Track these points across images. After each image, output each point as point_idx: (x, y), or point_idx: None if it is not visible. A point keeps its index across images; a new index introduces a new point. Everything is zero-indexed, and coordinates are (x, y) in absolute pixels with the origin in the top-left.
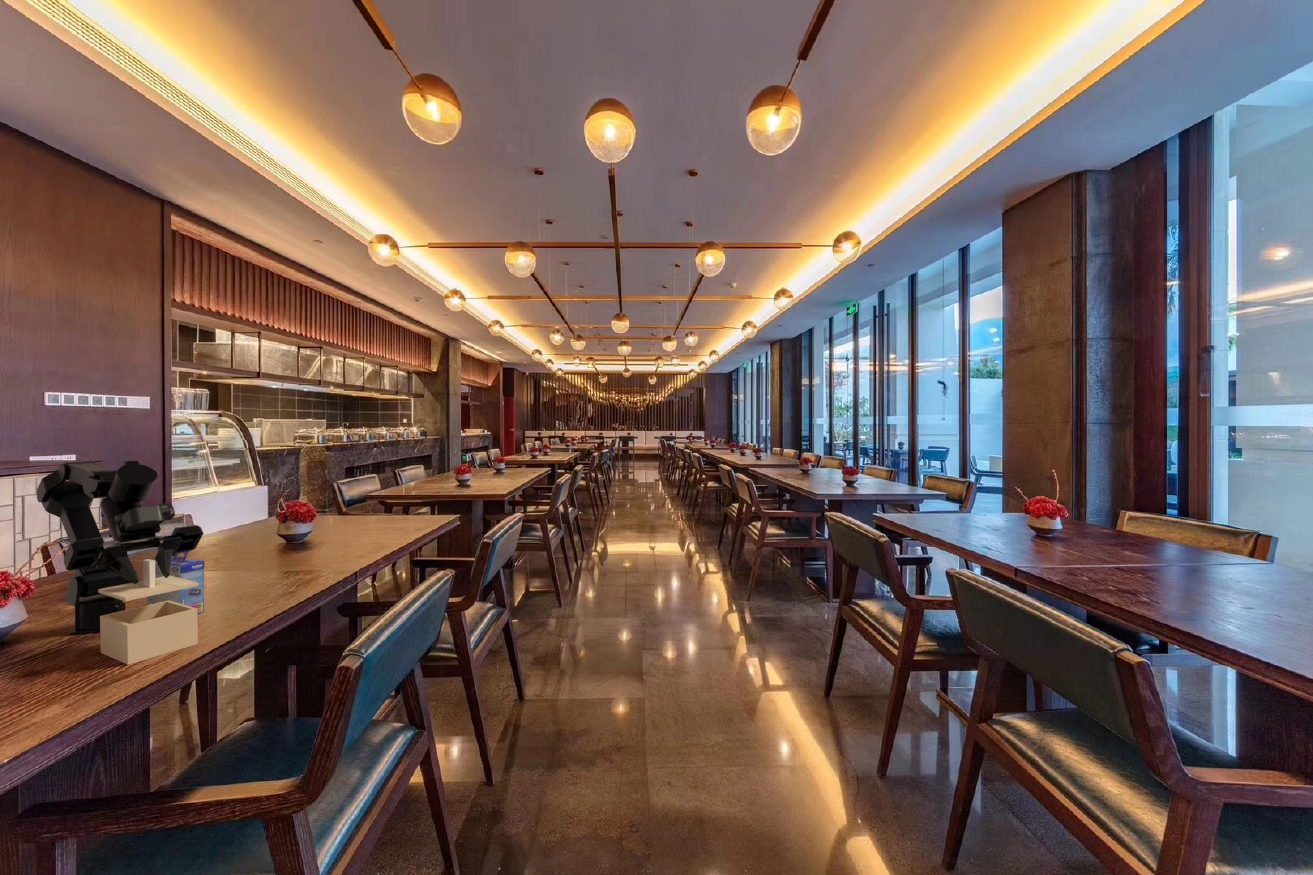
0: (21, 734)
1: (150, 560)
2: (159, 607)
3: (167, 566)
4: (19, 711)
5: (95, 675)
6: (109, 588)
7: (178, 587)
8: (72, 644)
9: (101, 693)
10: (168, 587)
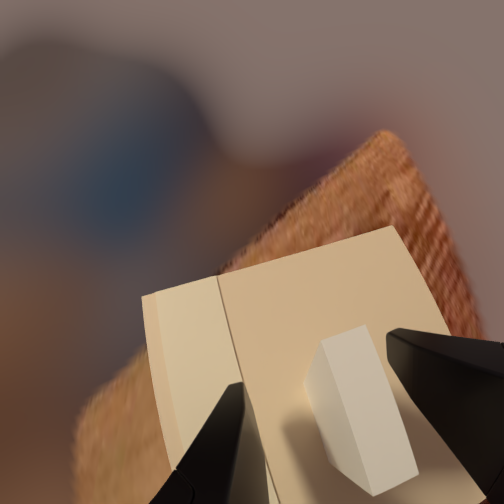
0: (402, 154)
1: (360, 377)
2: None
3: (225, 415)
4: (437, 217)
5: None
6: (470, 483)
7: (217, 278)
8: None
9: (359, 207)
10: (253, 294)
